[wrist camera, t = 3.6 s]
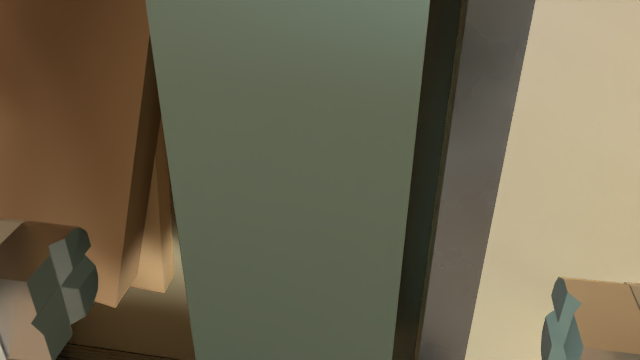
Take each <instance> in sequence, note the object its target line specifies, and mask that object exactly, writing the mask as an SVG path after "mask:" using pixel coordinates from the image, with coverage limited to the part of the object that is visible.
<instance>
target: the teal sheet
mask: <svg viewBox="0 0 640 360" xmlns="http://www.w3.org/2000/svg"><path fill="white" fill-rule="evenodd" d="M145 1H146V9H147V16H148V23H149V30H150V37H151V44H152V51H153V59H154V66H155V73H156V80H157V87H158V94H159V102H160V109H161V116H162V123H163V130H164V137H165V145H166V152H167V159H168V166H169V173H170V180H171V188H172V195H173V202H174V209H175V216H176V223H177V230H178V238H179V245H180V252H181V259H182V266H183V273H184V281H185V288H186V295H187V302H188V309H189V316H190V324H191V331H192V338H193V345H194V352H195V359H196V360H392V354H393V344H394V335H395V326H396V316H397V307H398V297H399V288H400V279H401V269H402V260H403V250H404V241H405V232H406V222H407V213H408V203H409V194H410V185H411V175H412V166H413V157H414V147H415V138H416V128H417V119H418V110H419V100H420V91H421V81H422V72H423V63H424V53H425V44H426V34H427V25H428V16H429V6H430V0H145Z"/></svg>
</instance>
